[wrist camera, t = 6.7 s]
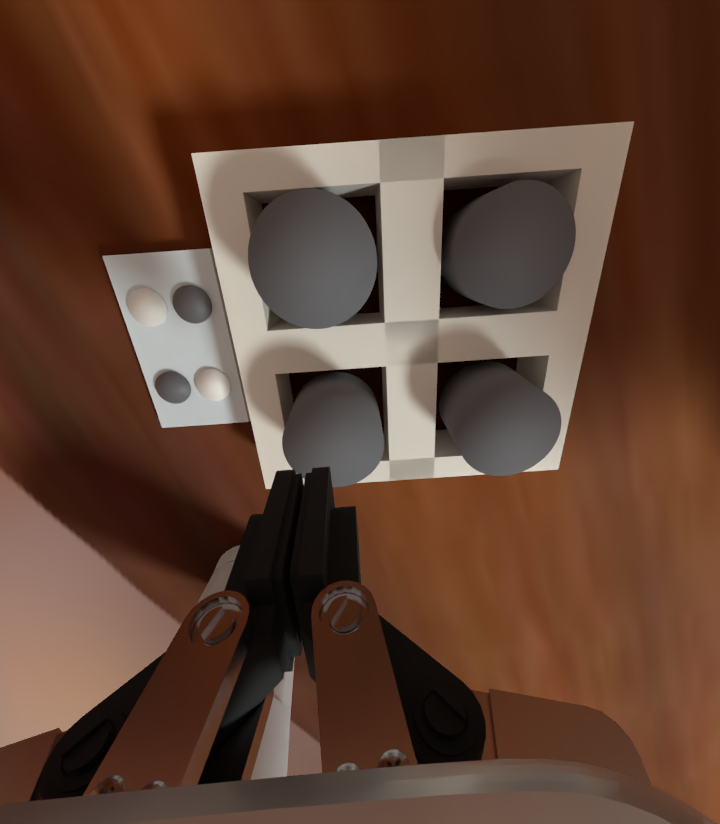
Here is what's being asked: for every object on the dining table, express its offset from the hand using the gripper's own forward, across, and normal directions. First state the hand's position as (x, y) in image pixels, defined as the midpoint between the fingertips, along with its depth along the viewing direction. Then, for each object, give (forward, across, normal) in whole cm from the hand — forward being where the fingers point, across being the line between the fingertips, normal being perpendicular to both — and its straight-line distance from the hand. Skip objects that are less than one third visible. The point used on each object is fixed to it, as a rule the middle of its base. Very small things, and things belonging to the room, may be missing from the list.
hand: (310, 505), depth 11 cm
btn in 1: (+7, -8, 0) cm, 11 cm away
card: (+10, +7, -3) cm, 12 cm away
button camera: (+7, -1, -7) cm, 10 cm away
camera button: (+9, -8, -7) cm, 14 cm away
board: (+9, -5, -3) cm, 11 cm away
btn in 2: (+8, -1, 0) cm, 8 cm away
